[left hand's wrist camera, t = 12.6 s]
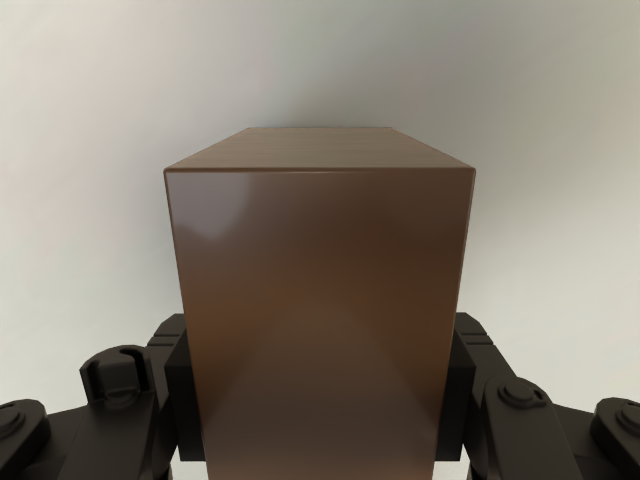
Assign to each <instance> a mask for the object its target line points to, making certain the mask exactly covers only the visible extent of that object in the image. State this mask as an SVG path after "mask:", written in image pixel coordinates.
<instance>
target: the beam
mask: <svg viewBox="0 0 640 480" xmlns="http://www.w3.org/2000/svg"><path fill="white" fill-rule="evenodd" d="M163 173H164V180H165V187H166V193H167V200H168V207H169V214H170V221H171V227H172V234H173V241H174V248H175V255H176V261H177V268H178V275H179V282H180V289H181V295H182V302H183V309H184V316H185V323H186V329H187V336H188V343H189V350H190V357H191V363H192V370H193V377H194V384H195V391H196V397H197V404H198V411H199V418H200V425H201V431H202V438H203V445H204V452H205V459H206V465H207V472H208V479H209V480H432V476H433V469H434V462H435V455H436V448H437V441H438V434H439V427H440V420H441V413H442V406H443V399H444V392H445V385H446V378H447V371H448V364H449V357H450V350H451V343H452V336H453V329H454V322H455V315H456V308H457V301H458V294H459V287H460V280H461V273H462V266H463V260H464V253H465V246H466V239H467V232H468V225H469V218H470V211H471V204H472V197H473V190H474V183H475V176H476V170H475V168H474V167H471V166H469V165H467V164H465V163H463V162H461V161H459V160H457V159H455V158H453V157H451V156H449V155H447V154H445V153H443V152H440V151H438V150H436V149H434V148H432V147H430V146H428V145H426V144H424V143H422V142H420V141H418V140H416V139H414V138H412V137H409V136H407V135H405V134H403V133H401V132H399V131H397V130H395V129H393V128H247V129H245V130H243V131H241V132H239V133H237V134H235V135H233V136H231V137H229V138H227V139H224V140H222V141H220V142H218V143H216V144H214V145H212V146H210V147H208V148H206V149H204V150H202V151H200V152H198V153H196V154H194V155H192V156H190V157H188V158H185V159H183V160H181V161H179V162H177V163H175V164H173V165H171V166H169V167H167V168H165V169H164V172H163Z"/></svg>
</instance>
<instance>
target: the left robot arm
mask: <svg viewBox="0 0 640 480" xmlns="http://www.w3.org/2000/svg"><path fill="white" fill-rule="evenodd" d="M79 371H80V375H81V378H82V382H83V385H84V389H85V393H86V396H87V400H88V404H87V405H86V406H82V407H79V408H75V409H71V410H66V411H62V412H58V413H53V414H49V415H47V414H46V411H45V407H44V405H43V404H41V403H40V402H39V401H38V400H31V399H23V400H16V401H12V402H9V403H6V404H3V405H0V480H173V476H172V469H171V464H170V462H171V459H172V457H173V454H174V452H175V449H176V447H177V444H178V450H179V455H180V461H206V459H205V452H204V445H203V438H202V431H201V425H200V418H199V411H198V404H197V397H196V391H195V384H194V377H193V370H192V363H191V357H190V350H189V343H188V336H187V329H186V323H185V316H184V314H174V315H172V316H171V317H170V318H168V319H167V320H165V321H164V322H163V323H161V325H160V326H159V327H158V329H157V330H156V332H155V333H154V337H152V338H151V339H150V341H149V342H148V343H147V346H145V348H144V347H141V346H137V345H121V346H117V347H113V348H109V349H106V350H104V351H102V352H100V353H97V354H96V355H94V356H93V357H91V358H90V359H89V360H87V361H86V362H85V363H84V364H83V366H82V367H81V368H80V370H79ZM463 444H464V447H465V449H466V452H467V454H468V457H469V459H470V464H469V469H468V474H467V480H640V403H637V402H634V401H631V400H628V399H622V398H615V397H612V398H606V399H602V400H601V401H600V402H599V403H598V404H597V405H596V409H595V412H594V413H590V412H585V411H581V410H577V409H572V408H568V407H563V406H560V405H557V404H553V403H552V401H551V400H550V398H549V397H548V395H547V394H546V392H544V391H543V390H542V389H541V388H539V387H538V386H537V385H536V384H534V383H532V382H530V381H528V380H526V379H523V378H520V377H517V376H516V375H515V373H514V372H513V370H512V369H511V367H510V366H509V365H508V363H507V362H506V360H505V359H504V357H503V356H502V354H501V353H500V352H499V350H498V349H497V347H496V346H495V345H493V341H492V340H491V339H490V337H489V336H487V333H486V331H485V330H484V328H483V327H482V326H481V324H480V323H479V322H478V321H477V320H475V319H474V318H473V317H471V316H470V315H468V314H467V313H466V312H456V315H455V322H454V329H453V336H452V343H451V350H450V357H449V364H448V371H447V378H446V385H445V392H444V399H443V406H442V413H441V420H440V427H439V434H438V441H437V448H436V455H435V461H460V457H461V451H462V446H463Z"/></svg>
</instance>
